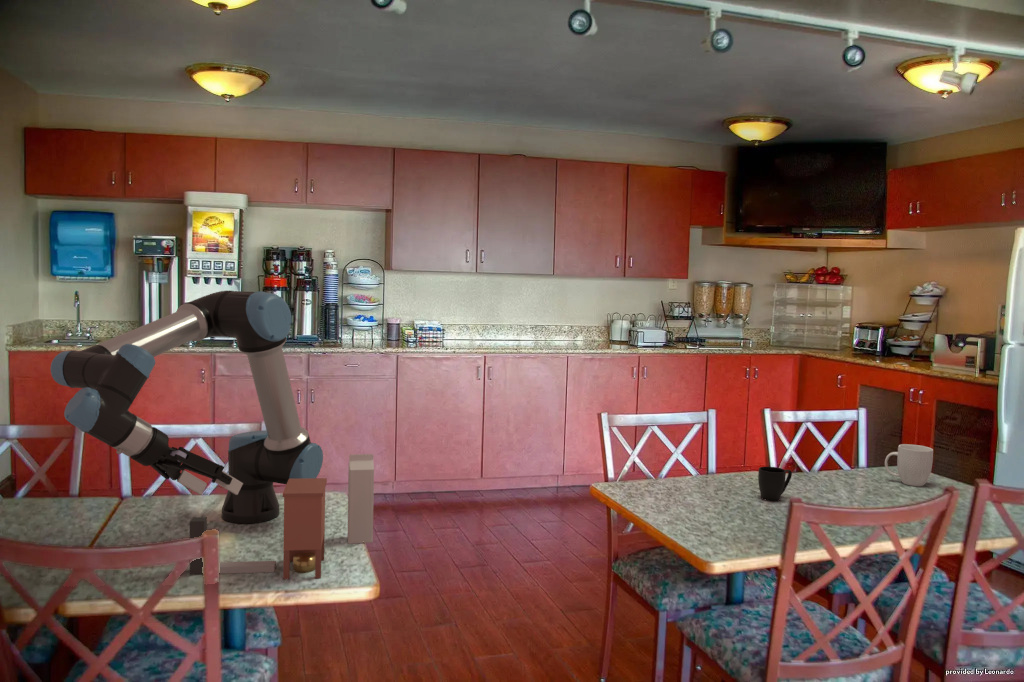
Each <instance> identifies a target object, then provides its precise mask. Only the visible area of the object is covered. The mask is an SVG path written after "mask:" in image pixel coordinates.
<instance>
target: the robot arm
mask: <svg viewBox="0 0 1024 682" xmlns="http://www.w3.org/2000/svg"><path fill="white" fill-rule="evenodd" d="M292 319H293V318H292V313H291V309H290V306H289V305H288V303H287V302H286V300H285V299H284V298H282V297H281V296H279V295H278V294H276V293H272V292H271V293H270V292H266V291H244V290H241V291H240V290H238V291H237V290H221V291H216V292H213V293H209V294H206V295H204V296H201V297H198V298H195V299H193V300H191V301H188V302H186V303H184V304H182V305H180V306H179V307H178V308H177V310H176V312H172V313H170V314H168V315H166V316H163V317H161V318H158V319H156V320H153V321H151V322H149V323H146V324H143V325H141V326H139V327H136V328H135V329H132V330H129V331H127V332H125V333H122V334H120V335H117V336H114V337H112V338H110V339H108V340H105V341H103V342H100V343H98V344H95V345H93V346H90V347H86V348H84V349H83V350H79V351H78V350H64V351H61V352H59V353H57V355H55V356H54V358H53V359H52V361H51V364H50V375H51V378H52V379H53V381H54V382H55V383H57V384H58V385H60V386H64V387H69V388H71V389H79V390H78V391H77V392H76V393H75V394H74V395H73V397H72V398H70V400H69V401H68V402H67V404H66V406H65V409H64V412H63V413H64V414H63V415H64V418H65V420H66V421H67V422H69V423H70V424H71V425H73V426H74V427H75V428H77V429H79V430H80V431H81V432H83V433H85V434H87V435H89V436H91V437H93V438H94V439H97V440H99V441H100V442H102V443H104V444H106V445H107V446H110V447H111V448H113V449H115V450H116V454H118V455H121V454H123V455H125V456H127V457H129V458H131V460H133V461H135V462H137V463H138V464H140V465H141V466H143V467H144V466H145V467H149V466H150V467H151V468H152V469H153V470H155V471H156V472H157V473H158V474H159V475H160V476H161V477H163V478H164V479H165V480H170V479H171V480H172V481H176V482H177V483H179V484H181V485H183V486H184V487H186V488H188V489H189V490H191V491H192V492H195V493H196V494H197V495H200V496H201V495H202V494H203V493H204V490H205V488H206V487H207V484H208V483H207V482H206V481H204V480H202V479H200V478H199V477H197V476H195V475H194V474H192V473H195V474H198V475H200V476H204V477H205V478H209V479H212V480H211V484H217V485H219V486H220V487H222V489H223V488H224V489H225V490H227V492H226V495H225V499H224V501H223V505H222V508H221V519H222V520H224V521H225V522H228V523H234V524H255V523H263V522H267V521H271V520H274V519H275V518H277V517H279V515H280V503H279V501H278V497H277V495H276V491H275V488H274V483H275V484H281V485H286V484H287V482H288V480H289V479H301V478H318V476H319V474H320V472H321V469H322V467H323V466H322V465H323V463H324V453H323V449H322V447H321V446H320V445H319V444H318V443H316V442H311V438H310V434H309V431H308V430H307V429H306V428H304V427H302V426H301V421H300V418H299V413H298V409H297V405H296V401H295V396H294V393H293V389H292V384H291V380H290V377H289V371H288V367H287V363H286V359H285V355H284V354H285V353H284V351H283V346H285V343H286V342H287V336H288V335H289V333H290V331H291V328H292V327H291V324H292V323H293V322H292V321H293V320H292ZM216 337H219V338H220V337H222V338H223V337H224V338H234V339H236V343H237V344H236V345H237V347H238V351H239V352H240V353H241V354H244V355H246V357H247V360H248V363H249V367H250V371H251V372H250V373H251V375H252V379H253V383H254V386H255V387H254V388H255V391H256V394H257V399H258V403H259V406H260V410H261V415H262V418H263V421H264V425H265V429H266V430H255V431H253V430H252V431H248V432H240V433H237V434H234V435H232V436H231V437H230V438H229V440H228V450H227V454H228V455H227V456H228V457H227V458H228V459H227V463H228V465H227V466H228V467H227V468H228V469H227V470H228V471H227V472H225V471H224V469H225V466H223V465H221V464H219V463H216V462H214V461H212V460H210V459H207V458H205V457H203V456H201V455H198V454H196V453H193V452H191V451H190V450H188V449H186V448H184V447H183V446H179V447H174V446H171V447H170V446H169V440H170V439H169V436H168V435H167V433H165V432H163V431H162V430H160V429H158V428H156V427H155V426H153V425H152V424H151V423H150V422H148V421H147V420H145V419H143V418H141V417H139V416H138V415H136V414H134V413H132V412H131V411H129V409H130V408H131V406H132V404H133V403H134V401H135V399H136V398H137V396H138V395H139V394H140V391H141V390H142V388H143V386H144V385H145V383H146V382H147V380H148V379H149V378H150V375H151V373H152V371H153V369H154V368H155V365H156V359H155V357H158V356H159V355H163V354H164V353H167V352H168V351H171V350H172V349H175V348H177V347H179V346H181V345H184V344H185V343H189V342H190V341H193V342H199V341H203V340H204V339H207V338H216ZM186 470H187V471H186ZM188 471H189V472H188ZM190 472H192V473H190Z"/></svg>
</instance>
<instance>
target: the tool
mask: <svg viewBox="0 0 1024 682" xmlns="http://www.w3.org/2000/svg"><path fill="white" fill-rule="evenodd" d="M206 530H207V531H208V517H207V516H194V517H191V519H190V520H189V539H190V538H194V537H199V536H201V535H202V533H203V532H204V531H206ZM219 562H220V574H219V575H222V574H250V573H251V574H254V573H275V570H276V568H277V560H258V561H257V560H256V561H255V560H254V561H219ZM202 567H203V562H202V558H200V559H196V560H194V561H192V562H191V563H190V562H189V575H190V576H191V575H203V574H202Z"/></svg>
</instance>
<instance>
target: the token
mask: <svg viewBox="0 0 1024 682" xmlns="http://www.w3.org/2000/svg"><path fill="white" fill-rule="evenodd" d="M292 567H293V568H292V570H293V572H295V573H298V574H307V573H311V572H315V554H313V553H299V554H296V555H294V556H293V561H292Z"/></svg>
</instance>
